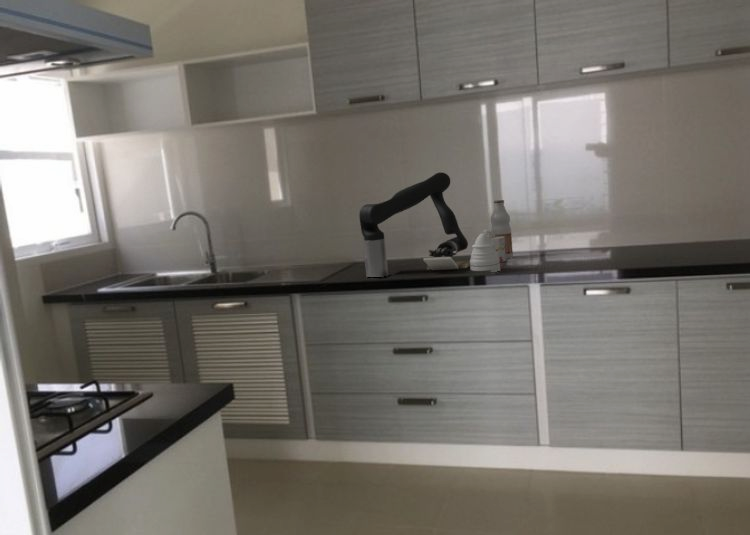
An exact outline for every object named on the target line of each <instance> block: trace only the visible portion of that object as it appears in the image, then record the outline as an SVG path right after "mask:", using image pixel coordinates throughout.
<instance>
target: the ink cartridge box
mask: <svg viewBox="0 0 750 535" xmlns="http://www.w3.org/2000/svg"><path fill="white" fill-rule="evenodd" d="M492 233H493V235H492ZM488 237H489V239H490V240H491V242H492V243H495V244H496V245H495V246H494V248H495V250H496V253H497V255H498V257H499V259H500V262H499V263H500V264H501V263H504V262H506V261H507V259H506V254H505V236H499V237H495V231H490V232H489V234H488Z"/></svg>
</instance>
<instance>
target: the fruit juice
mask: <svg viewBox="0 0 750 535" xmlns="http://www.w3.org/2000/svg"><path fill="white" fill-rule="evenodd" d="M493 205H494V208H493V211H492V214H491V216H490V224H491V231H495V237H499V236H505V254H506V260H509V259H512V258H513V257H514V253H513V240H512V228H511V225H510V222H511V221H510V220H511V218H510V215H509V213H508V212H507V209H506V207H505V200H503V199H500V200H498V199H497V200H494V201H493ZM491 231H490V232H491ZM491 235H493V233H492V234H491Z"/></svg>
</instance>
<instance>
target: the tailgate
mask: <svg viewBox="0 0 750 535" xmlns="http://www.w3.org/2000/svg"><path fill="white" fill-rule="evenodd" d="M423 262H424V263H425V264H426V265H427V266H429V267H430V268H431V269H432V271H444V270H445V271H447V270H459V269H460V268H459V267H458V266H457V264H456V263H455V260H454V259H453V258H452V257H423Z"/></svg>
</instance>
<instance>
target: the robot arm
mask: <svg viewBox="0 0 750 535" xmlns="http://www.w3.org/2000/svg"><path fill="white" fill-rule="evenodd" d="M450 185H451V178H450V176H449V175H448V174H447V173H446V172H441V171H439V172H435V173H434V175H432V176H430V177H428V178H427V179H425V180H423V181H421V182H417V183H415V184H413V185H410V186H407V187H405V188H403V189H401V190H399V191H398V192H396V193H395V194H394V195H393V196H392V197H391V198H390V199H387V200H386V201H382V202H379V203H372V204H371V203H369V204H363V205H362V207H361V208H360V209H359V214H358V215H359V223H360V231H361V234H362V236H363V240H364V241H363V242H364V249H365V250H364V251H365V257H364V265H365V275H366V278H367V277H382V278H385V277H384V276H386V277H389V269H388V261H387V260H388V259H387V250H386V249H387V248H386V241H385V240H386V239H385V234H384V232H383V231H382V230H381V229H380V228H379V225H380V224H382V223H383V222H385V221H387V220H389V218H391V217H393V216H394V215H397V214H400V213H402V212H404V211H406V210H408V209H410V208H413V207H414V206H416V205H419V204H420V203H422V202H423V201H424V200H425V199H427V198H429V197H430V198H431V201H432V203H433V205H434V207H435V209H436V211H437V213H438V215H439V218H440V221H441V224H442V227H443V230H444V231H443V232H444V233H445V235H449V236H450V235H456V237H453V238H450V239H448V240H446V241H444V242H442V243H439V245H438V246H437V248H436V249H435V250H433V249H429V250H428V255H429V257H431V258H435V257H451V258H452V257H454V256H456V255H457V253H460V252H462V251H465V250H467V248H468V245H469V242H468V239H467V238H466V237H465V236H464V234H463V233H462V230H461V229H460V227H459V224H458V220H457V217H456V215H455V213H454V211H453V210H452V209H451V208H450V207H449V206H448V204H447V203H446V200H445V198H444V194H443V193H444V192H445V191H447V189H449V187H450Z"/></svg>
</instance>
